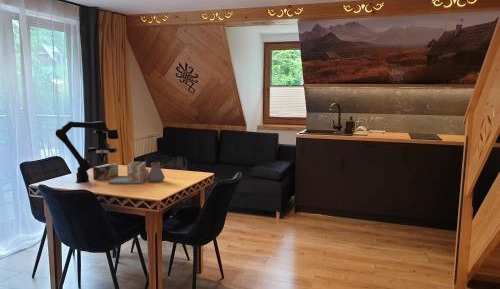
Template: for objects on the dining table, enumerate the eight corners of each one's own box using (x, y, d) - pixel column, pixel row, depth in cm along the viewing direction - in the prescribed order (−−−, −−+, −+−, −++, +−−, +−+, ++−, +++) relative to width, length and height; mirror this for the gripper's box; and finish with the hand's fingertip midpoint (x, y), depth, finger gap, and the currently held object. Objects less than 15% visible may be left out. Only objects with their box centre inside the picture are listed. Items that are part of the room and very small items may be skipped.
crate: (127, 181, 249) (127, 165, 247) (133, 177, 261) (132, 161, 259) (141, 181, 249) (140, 165, 247) (146, 177, 261) (145, 161, 259)
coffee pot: (143, 182, 253) (143, 160, 251) (157, 179, 262) (156, 157, 260) (165, 186, 240) (164, 163, 238) (178, 183, 250) (178, 161, 248)
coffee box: (112, 163, 272) (92, 166, 258) (118, 164, 268) (98, 167, 255) (113, 175, 273) (93, 179, 260) (118, 176, 269) (98, 180, 256)
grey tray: (108, 184, 246) (108, 173, 245) (117, 178, 264) (117, 168, 263) (142, 184, 246) (142, 173, 245) (149, 178, 264) (149, 168, 263)
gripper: (119, 138, 263) (120, 160, 265) (92, 138, 263) (94, 160, 265) (114, 140, 252) (115, 163, 254) (86, 140, 252) (87, 163, 254)
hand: (103, 162), depth 257 cm, fingers closed
